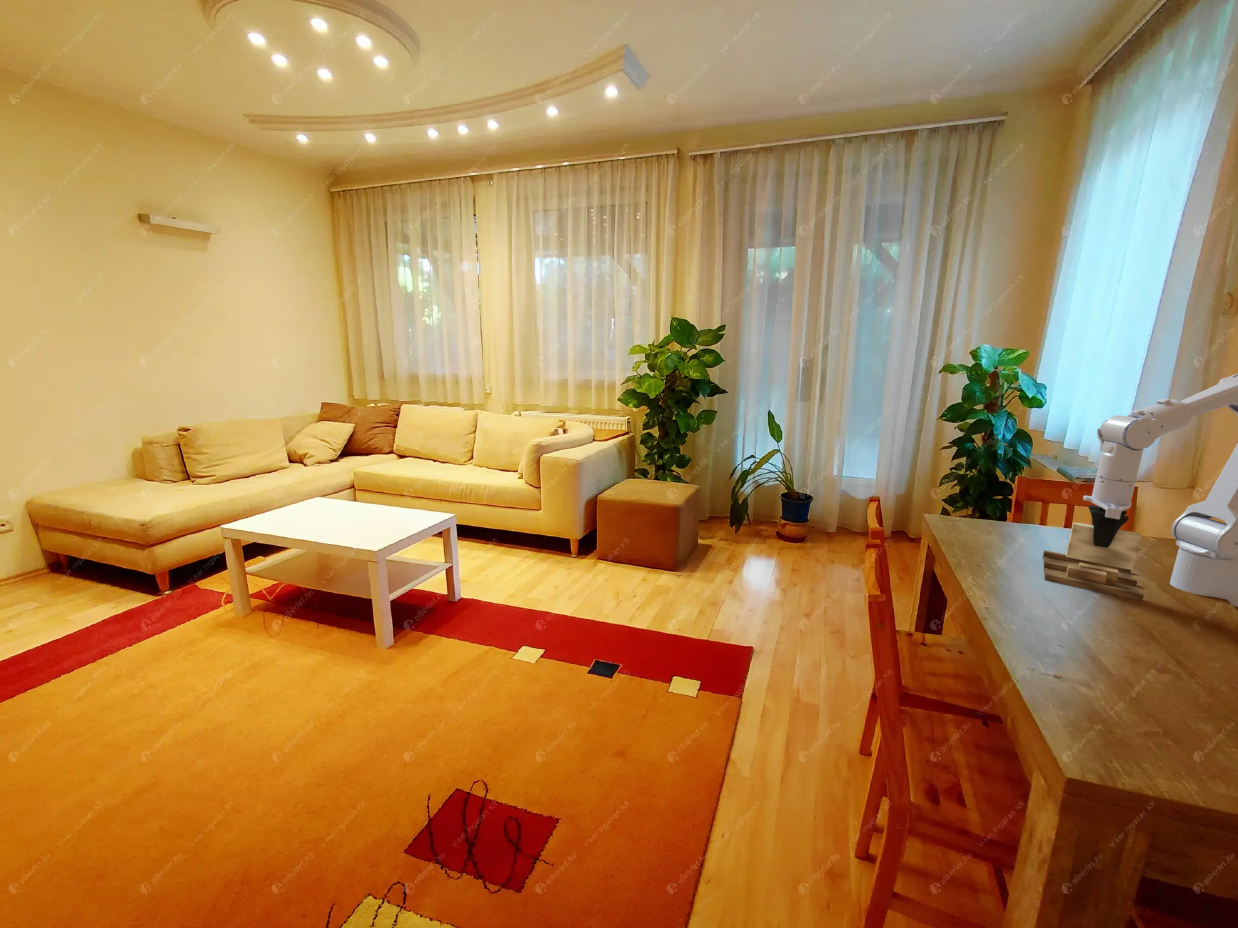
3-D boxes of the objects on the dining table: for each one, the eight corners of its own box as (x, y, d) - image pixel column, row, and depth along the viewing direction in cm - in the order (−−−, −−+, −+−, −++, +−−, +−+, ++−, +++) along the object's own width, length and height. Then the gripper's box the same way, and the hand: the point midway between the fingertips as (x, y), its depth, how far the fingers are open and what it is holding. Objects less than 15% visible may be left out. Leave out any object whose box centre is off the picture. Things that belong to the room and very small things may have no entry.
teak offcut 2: (1114, 583, 111) (1117, 569, 111) (1115, 586, 110) (1118, 572, 109) (1076, 575, 115) (1079, 562, 114) (1077, 578, 113) (1080, 565, 112)
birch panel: (1131, 566, 106) (1139, 533, 104) (1132, 570, 104) (1141, 535, 103) (1065, 553, 112) (1073, 521, 110) (1066, 556, 110) (1073, 524, 108)
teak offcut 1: (1102, 585, 110) (1106, 572, 109) (1103, 589, 108) (1107, 575, 108) (1065, 577, 113) (1068, 564, 113) (1065, 581, 112) (1068, 567, 111)
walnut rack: (1129, 575, 117) (1131, 566, 117) (1141, 604, 104) (1144, 594, 103) (1042, 558, 126) (1044, 550, 125) (1043, 582, 113) (1045, 574, 112)
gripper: (1086, 468, 112) (1072, 530, 115) (1091, 481, 101) (1076, 549, 104) (1131, 474, 108) (1116, 538, 111) (1142, 488, 97) (1125, 559, 100)
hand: (1100, 544), depth 107 cm, fingers closed on birch panel, 2 cm apart
